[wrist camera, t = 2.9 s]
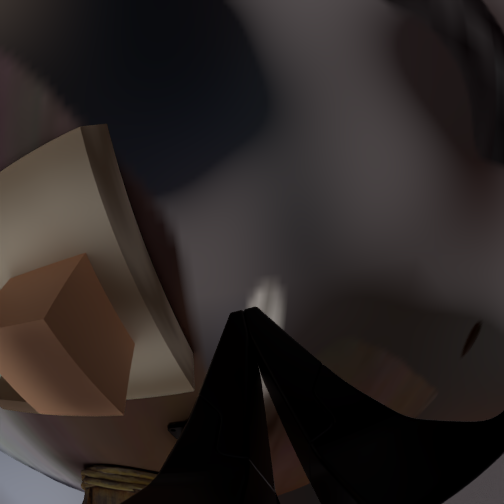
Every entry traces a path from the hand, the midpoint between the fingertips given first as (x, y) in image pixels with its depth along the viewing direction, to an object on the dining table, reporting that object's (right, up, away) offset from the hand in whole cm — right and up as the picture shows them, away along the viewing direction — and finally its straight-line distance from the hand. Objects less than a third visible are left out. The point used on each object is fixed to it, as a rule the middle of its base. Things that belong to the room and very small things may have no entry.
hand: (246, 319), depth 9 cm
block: (-8, -1, +2) cm, 8 cm away
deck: (-18, -2, +4) cm, 19 cm away
